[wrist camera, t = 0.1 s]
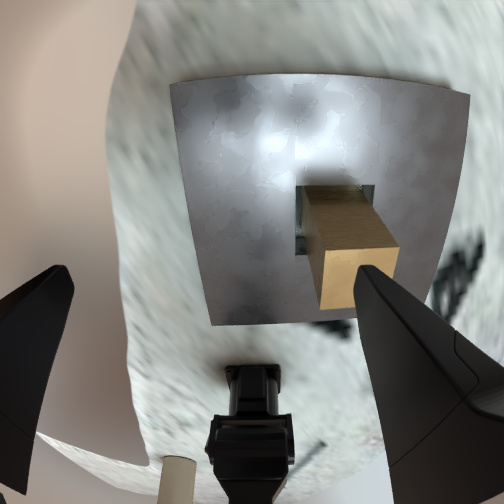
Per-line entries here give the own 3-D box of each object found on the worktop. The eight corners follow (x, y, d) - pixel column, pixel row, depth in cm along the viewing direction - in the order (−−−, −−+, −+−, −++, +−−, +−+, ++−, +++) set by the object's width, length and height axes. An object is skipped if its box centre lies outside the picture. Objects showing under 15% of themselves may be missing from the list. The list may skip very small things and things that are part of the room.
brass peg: (349, 226, 24) (385, 304, 17) (301, 228, 24) (319, 309, 17) (353, 181, 22) (399, 247, 15) (301, 181, 22) (325, 250, 15)
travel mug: (179, 454, 57) (171, 524, 42) (203, 463, 60) (198, 529, 45) (157, 456, 59) (147, 520, 44) (180, 465, 63) (173, 526, 48)
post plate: (412, 293, 28) (421, 310, 26) (214, 306, 29) (211, 325, 27) (451, 89, 17) (470, 94, 15) (179, 82, 18) (169, 84, 16)
